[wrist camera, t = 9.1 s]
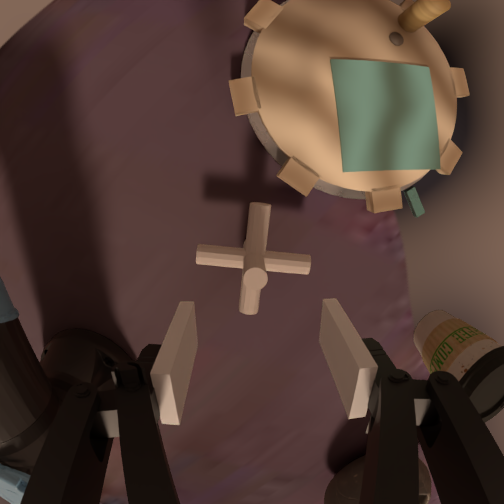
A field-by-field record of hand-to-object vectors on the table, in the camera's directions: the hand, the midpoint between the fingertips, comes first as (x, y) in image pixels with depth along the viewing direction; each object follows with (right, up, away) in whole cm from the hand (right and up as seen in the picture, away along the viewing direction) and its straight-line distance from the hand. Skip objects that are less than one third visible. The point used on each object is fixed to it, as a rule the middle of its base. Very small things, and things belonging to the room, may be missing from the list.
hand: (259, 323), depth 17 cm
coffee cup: (+24, -7, +20) cm, 32 cm away
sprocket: (+11, +21, +11) cm, 26 cm away
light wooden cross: (0, +5, +17) cm, 17 cm away
